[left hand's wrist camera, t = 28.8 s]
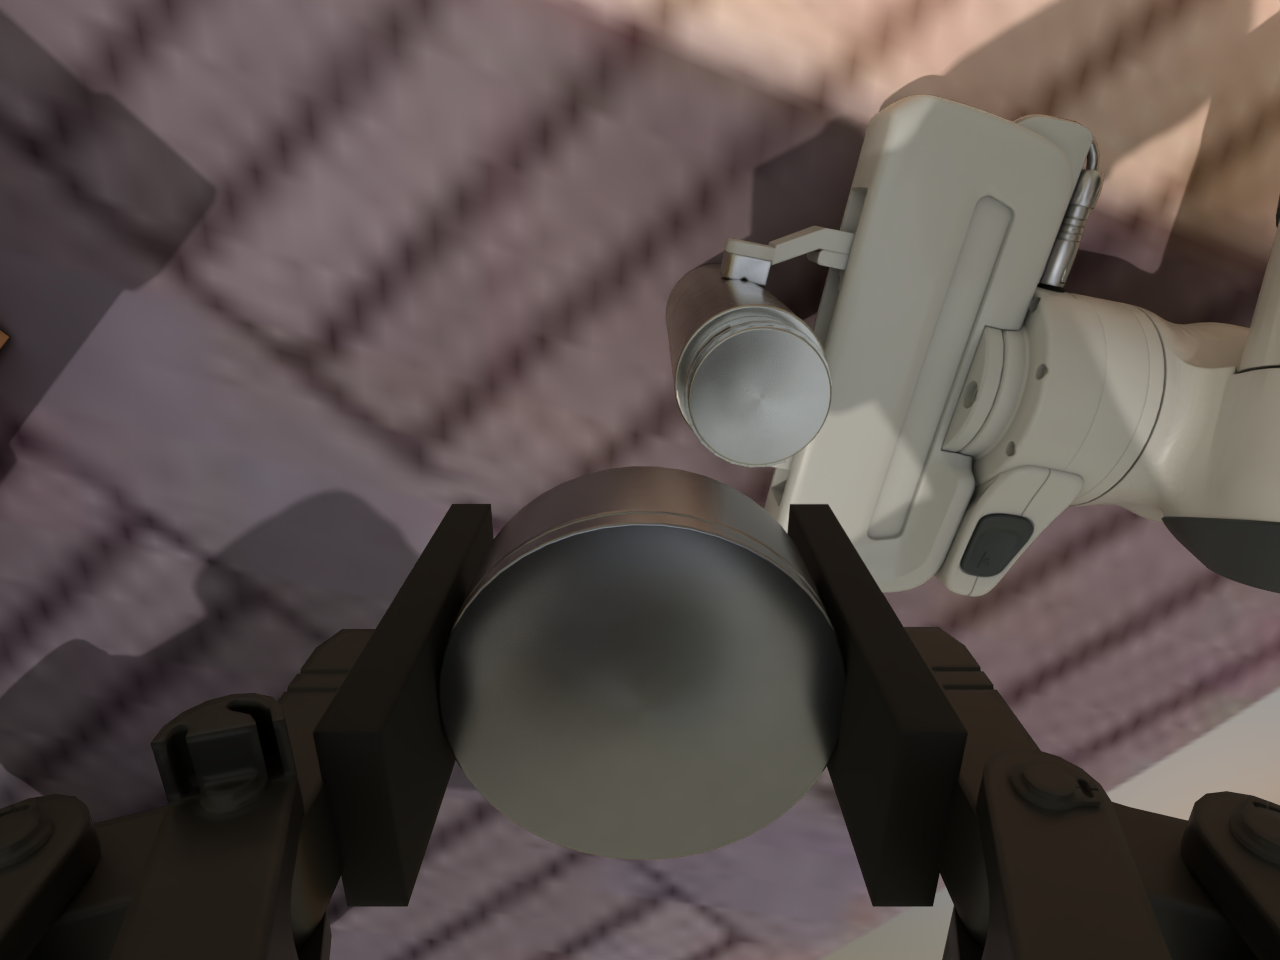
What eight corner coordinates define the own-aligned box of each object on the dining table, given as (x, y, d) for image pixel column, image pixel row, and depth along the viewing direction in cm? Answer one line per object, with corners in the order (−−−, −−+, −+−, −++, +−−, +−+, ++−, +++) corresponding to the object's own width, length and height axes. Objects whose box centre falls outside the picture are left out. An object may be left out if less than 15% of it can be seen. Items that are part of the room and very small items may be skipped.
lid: (762, 783, 14) (783, 887, 12) (451, 730, 13) (417, 828, 11) (860, 503, 12) (906, 569, 10) (496, 430, 11) (464, 483, 9)
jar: (654, 280, 36) (656, 342, 21) (752, 249, 35) (825, 292, 20) (680, 375, 37) (700, 494, 23) (775, 347, 37) (858, 452, 22)
